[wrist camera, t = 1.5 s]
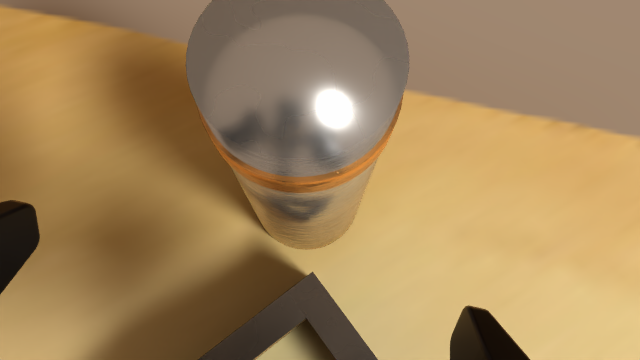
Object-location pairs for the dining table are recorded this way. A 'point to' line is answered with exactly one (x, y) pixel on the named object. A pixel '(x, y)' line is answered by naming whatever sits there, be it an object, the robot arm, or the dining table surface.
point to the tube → (299, 104)
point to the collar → (285, 315)
